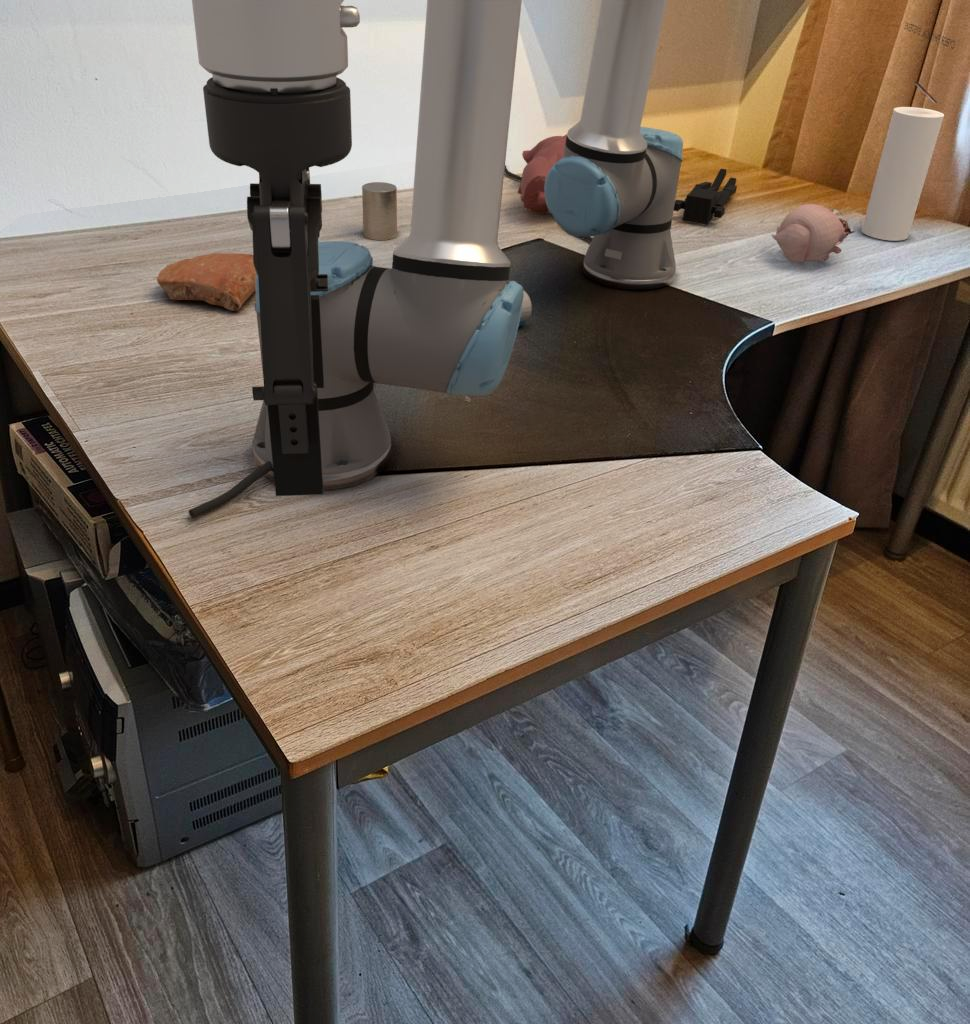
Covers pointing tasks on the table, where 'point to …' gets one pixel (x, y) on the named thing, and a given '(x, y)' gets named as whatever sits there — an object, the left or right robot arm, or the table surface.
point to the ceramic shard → (211, 279)
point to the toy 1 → (707, 200)
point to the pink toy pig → (539, 171)
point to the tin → (379, 210)
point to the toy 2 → (811, 233)
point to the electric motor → (525, 309)
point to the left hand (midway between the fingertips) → (302, 434)
